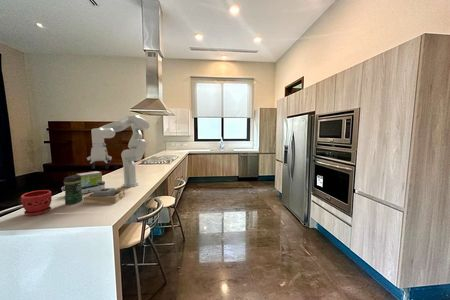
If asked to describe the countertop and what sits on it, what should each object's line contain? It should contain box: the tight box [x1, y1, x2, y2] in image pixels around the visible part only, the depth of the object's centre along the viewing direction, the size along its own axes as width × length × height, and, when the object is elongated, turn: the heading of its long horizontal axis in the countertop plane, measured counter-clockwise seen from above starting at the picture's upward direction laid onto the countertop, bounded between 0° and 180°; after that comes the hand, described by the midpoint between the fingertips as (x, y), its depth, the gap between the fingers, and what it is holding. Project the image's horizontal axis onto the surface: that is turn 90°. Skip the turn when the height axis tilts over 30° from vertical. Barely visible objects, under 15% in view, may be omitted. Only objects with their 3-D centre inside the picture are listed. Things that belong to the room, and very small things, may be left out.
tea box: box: [75, 170, 103, 195], centre depth 164 cm, size 15×10×15 cm
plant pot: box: [20, 189, 53, 217], centre depth 120 cm, size 13×13×12 cm
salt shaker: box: [98, 180, 106, 190], centre depth 152 cm, size 5×5×10 cm
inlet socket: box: [93, 187, 116, 197], centre depth 139 cm, size 9×9×7 cm
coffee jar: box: [63, 174, 83, 206], centre depth 136 cm, size 10×8×19 cm
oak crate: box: [82, 190, 125, 205], centre depth 140 cm, size 14×20×5 cm
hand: (100, 168), depth 150 cm, fingers open, 9 cm apart
